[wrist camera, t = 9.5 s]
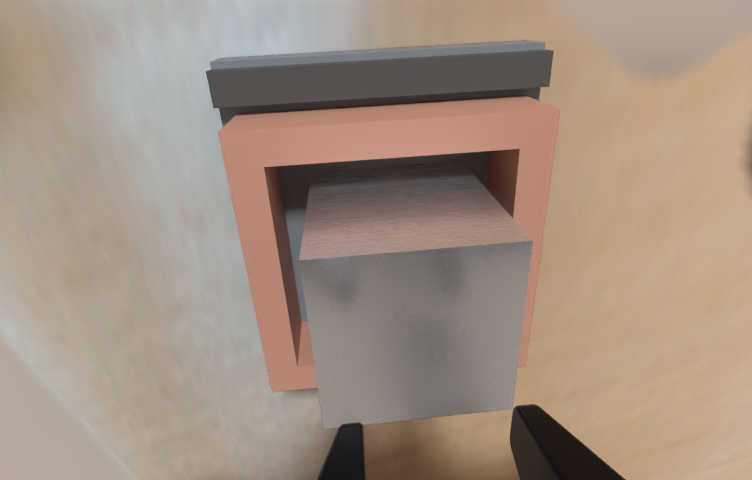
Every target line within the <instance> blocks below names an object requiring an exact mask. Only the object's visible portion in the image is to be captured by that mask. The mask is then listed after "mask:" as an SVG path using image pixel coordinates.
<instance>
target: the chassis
mask: <svg viewBox="0 0 752 480" xmlns="http://www.w3.org/2000/svg"><path fill="white" fill-rule="evenodd" d="M545 43H546V42H537V41H528V40H522V41H505V42H488V43H471V44H454V45H437V46H419V47H402V48H385V49H368V50H351V51H334V52H316V53H299V54H282V55H265V56H248V57H230V58H220V59H217V60H214V61H212V62H210V65H211V70H209V71H206V74H207V79H208V83H209V88H210V93H211V98H212V103H213V108H219V110H220V115H221V120H222V125H223V128H222V129H221V130H220V131H219V132H218V134H219V139H220V144H221V149H222V154H223V158H224V163H225V168H226V173H227V178H228V182H229V187H230V192H231V197H232V202H233V207H234V211H235V216H236V221H237V226H238V231H239V236H240V240H241V245H242V250H243V255H244V260H245V265H246V269H247V274H248V279H249V284H250V289H251V294H252V298H253V303H254V308H255V313H256V318H257V323H258V327H259V332H260V337H261V342H262V347H263V352H264V356H265V361H266V366H267V371H268V376H269V380H270V385H271V390H272V392H280V391H290V390H300V389H310V388H318V387H317V381H316V374H315V367H314V360H313V353H312V347H311V340H310V333H309V326H308V319H307V312H306V306H305V299H304V292H303V285H302V278H301V271H300V265H299V256H300V249H301V242H302V235H303V229H304V222H305V215H306V208H307V201H308V194H309V187H310V180H311V173H312V172H320V171H333V170H347V169H360V168H374V167H387V166H401V165H414V164H428V163H441V162H454V161H462V162H463V163H464V165H465V166H466V167H467V168H468V169H469V170H470V171H471V172H472V173H473V175H474V176H475V177H476V178H477V179H478V180H479V181H480V182H481V183H482V185H483V186H484V187H485V188H486V189H487V190H488V191H489V192H490V193H491V195H492V196H493V197H494V198H495V199H496V200H497V201H498V202H499V204H500V205H501V206H502V207H503V208H504V209H505V210H506V211H507V212H508V214H509V215H510V216H511V217H512V218H513V219H514V220H515V221H516V222H517V224H518V225H519V226H520V227H521V228H522V229H523V230H524V231H525V232H526V234H527V235H528V236H529V237H530V238H531V239H532V240H533V244H532V252H531V260H530V269H529V277H528V285H527V293H526V302H525V310H524V318H523V326H522V335H521V343H520V351H519V360H518V368H522V367H526V361H527V354H528V346H529V339H530V331H531V324H532V316H533V309H534V301H535V294H536V286H537V279H538V271H539V264H540V256H541V249H542V241H543V234H544V226H545V219H546V211H547V204H548V197H549V189H550V182H551V174H552V167H553V159H554V152H555V144H556V137H557V129H558V122H559V114H560V109H558V108H556V107H553V106H551V105H548V104H546V103H543V102H541V101H539V96H540V87H549V83H550V75H551V67H552V58H553V51H551V50H545Z"/></svg>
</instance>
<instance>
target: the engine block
mask: <svg viewBox="0 0 752 480" xmlns="http://www.w3.org/2000/svg"><path fill="white" fill-rule="evenodd" d="M532 244H533V240H532V239H531V238H530V237H529V236H528V235H527V234H526V232H525V231H524V230H523V229H522V228H521V227H520V226H519V225H518V224H517V222H516V221H515V220H514V219H513V218H512V217H511V216H510V215H509V214H508V212H507V211H506V210H505V209H504V208H503V207H502V206H501V205H500V204H499V202H498V201H497V200H496V199H495V198H494V197H493V196H492V195H491V193H490V192H489V191H488V190H487V189H486V188H485V187H484V186H483V185H482V183H481V182H480V181H479V180H478V179H477V178H476V177H475V176H474V175H473V173H472V172H471V171H470V170H469V169H468V168H467V167H466V166H465V165H464V163H463V162H462V161H454V162H441V163H428V164H414V165H401V166H387V167H374V168H360V169H347V170H333V171H320V172H312V173H311V180H310V187H309V194H308V201H307V208H306V215H305V222H304V229H303V235H302V242H301V249H300V256H299V265H300V271H301V278H302V285H303V292H304V299H305V306H306V312H307V319H308V326H309V333H310V340H311V347H312V353H313V360H314V367H315V374H316V381H317V387H318V394H319V401H320V408H321V415H322V422H323V428H324V429H327V428H337V427H340V426H341V425H342V424H347V423H357V422H360V423H362V425H365V424H375V423H384V422H394V421H403V420H413V419H422V418H432V417H441V416H451V415H460V414H470V413H479V412H489V411H498V410H507V409H513V401H514V393H515V384H516V376H517V368H518V360H519V351H520V343H521V335H522V326H523V318H524V310H525V302H526V293H527V285H528V277H529V269H530V260H531V252H532Z"/></svg>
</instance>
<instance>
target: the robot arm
mask: <svg viewBox="0 0 752 480" xmlns="http://www.w3.org/2000/svg"><path fill="white" fill-rule="evenodd" d="M510 445H511V449H512V453H513V456H514V460H515V463H516V467H517V470H518V473H519V477H520V480H625V479H624V478H623V477H622V476H621V475H619V474H618V473H617V472H616V471H615V470H613V469H612V468H611V467H610V466H609V465H608V464H606V463H605V462H604V461H603V460H602V459H601V458H599V457H598V456H597V455H596V454H595V453H593V452H592V451H591V450H590V449H589V448H588V447H586V446H585V445H584V444H583V443H582V442H580V441H579V440H578V439H577V438H576V437H575V436H573V435H572V434H571V433H570V432H569V431H568V430H566V429H565V428H564V427H563V426H562V425H560V424H559V423H558V422H557V421H556V420H555V419H553V418H552V417H551V416H550V415H549V414H547V413H546V412H545V411H544V410H543V409H542V408H540V407H539V406H537V405H534V404H531V405H521V406H516V407H515V408H514V410H513V415H512V423H511V431H510ZM317 480H367V468H366V455H365V444H364V432H363V425H362V423H360V422H357V423H347V424H342V425H341V426H340V427H339V429H338V431H337V433H336V436H335V438H334V440H333V443H332V445H331V448H330V450H329V452H328V455H327V457H326V460H325V462H324V464H323V467H322V469H321V471H320V474H319V476H318V479H317Z"/></svg>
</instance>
